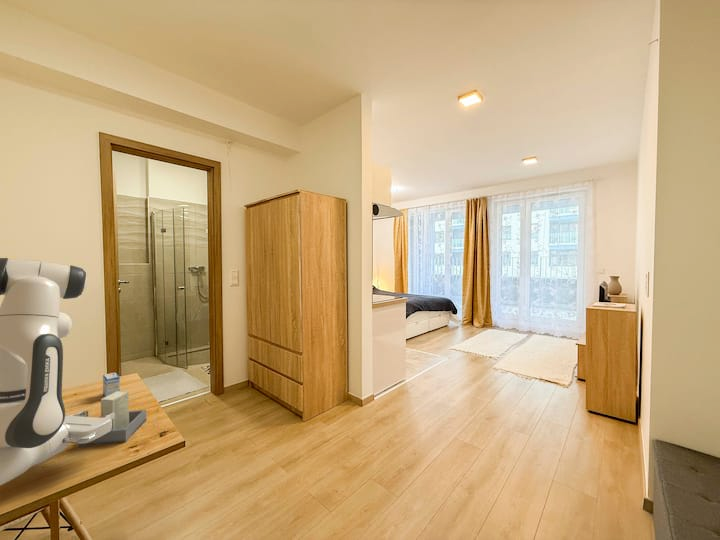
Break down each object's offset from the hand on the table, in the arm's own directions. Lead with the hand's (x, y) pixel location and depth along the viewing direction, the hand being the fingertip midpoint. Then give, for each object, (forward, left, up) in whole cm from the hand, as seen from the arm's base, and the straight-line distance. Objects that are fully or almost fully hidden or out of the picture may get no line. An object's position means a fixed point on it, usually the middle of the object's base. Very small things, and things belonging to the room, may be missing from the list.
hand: (99, 413), depth 93 cm
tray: (+2, +5, -9) cm, 10 cm away
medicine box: (-16, +37, -9) cm, 42 cm away
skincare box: (+2, +5, -8) cm, 10 cm away
